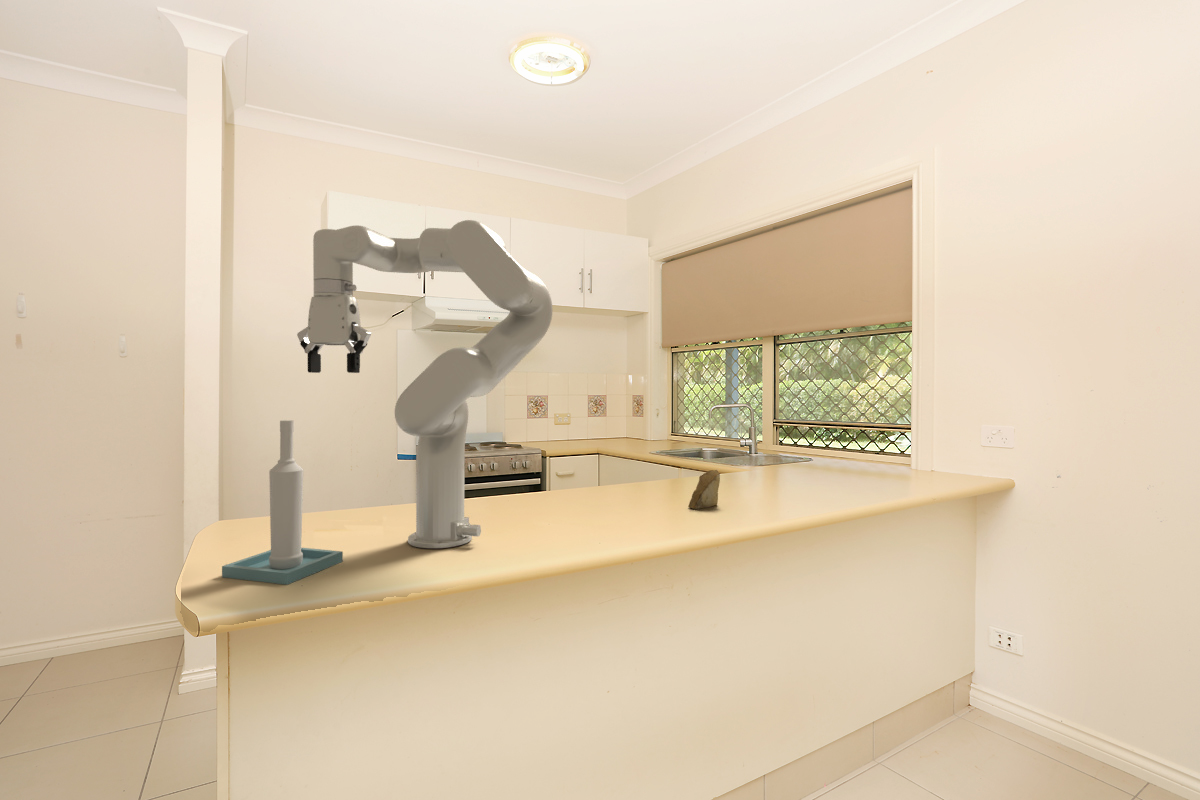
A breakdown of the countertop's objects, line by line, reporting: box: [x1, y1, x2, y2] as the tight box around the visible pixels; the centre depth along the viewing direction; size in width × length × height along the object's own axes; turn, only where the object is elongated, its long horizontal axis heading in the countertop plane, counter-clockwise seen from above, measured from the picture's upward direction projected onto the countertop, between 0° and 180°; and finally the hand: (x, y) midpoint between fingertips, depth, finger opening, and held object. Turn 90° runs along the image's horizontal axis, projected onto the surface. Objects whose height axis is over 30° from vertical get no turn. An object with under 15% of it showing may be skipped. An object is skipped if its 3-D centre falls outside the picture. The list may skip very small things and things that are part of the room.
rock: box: [687, 469, 721, 510], centre depth 159 cm, size 11×9×10 cm
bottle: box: [268, 419, 304, 569], centre depth 102 cm, size 5×5×25 cm
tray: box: [221, 547, 344, 586], centre depth 103 cm, size 13×13×2 cm
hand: (333, 372), depth 125 cm, fingers open, 9 cm apart
